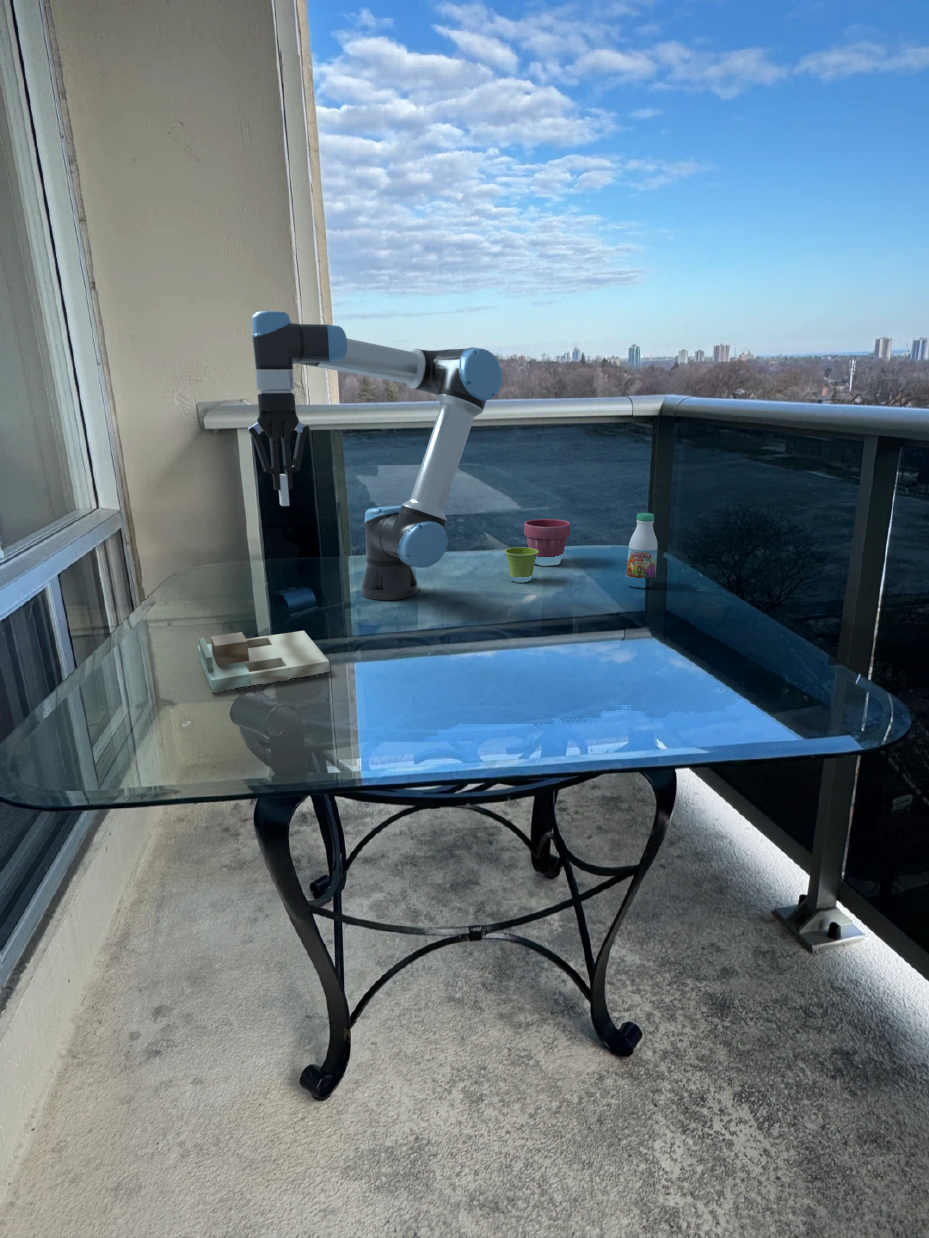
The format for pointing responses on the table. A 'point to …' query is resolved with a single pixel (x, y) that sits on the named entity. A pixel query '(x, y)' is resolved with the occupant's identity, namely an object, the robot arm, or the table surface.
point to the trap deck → (265, 661)
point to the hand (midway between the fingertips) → (284, 504)
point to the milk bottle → (642, 548)
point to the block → (229, 648)
